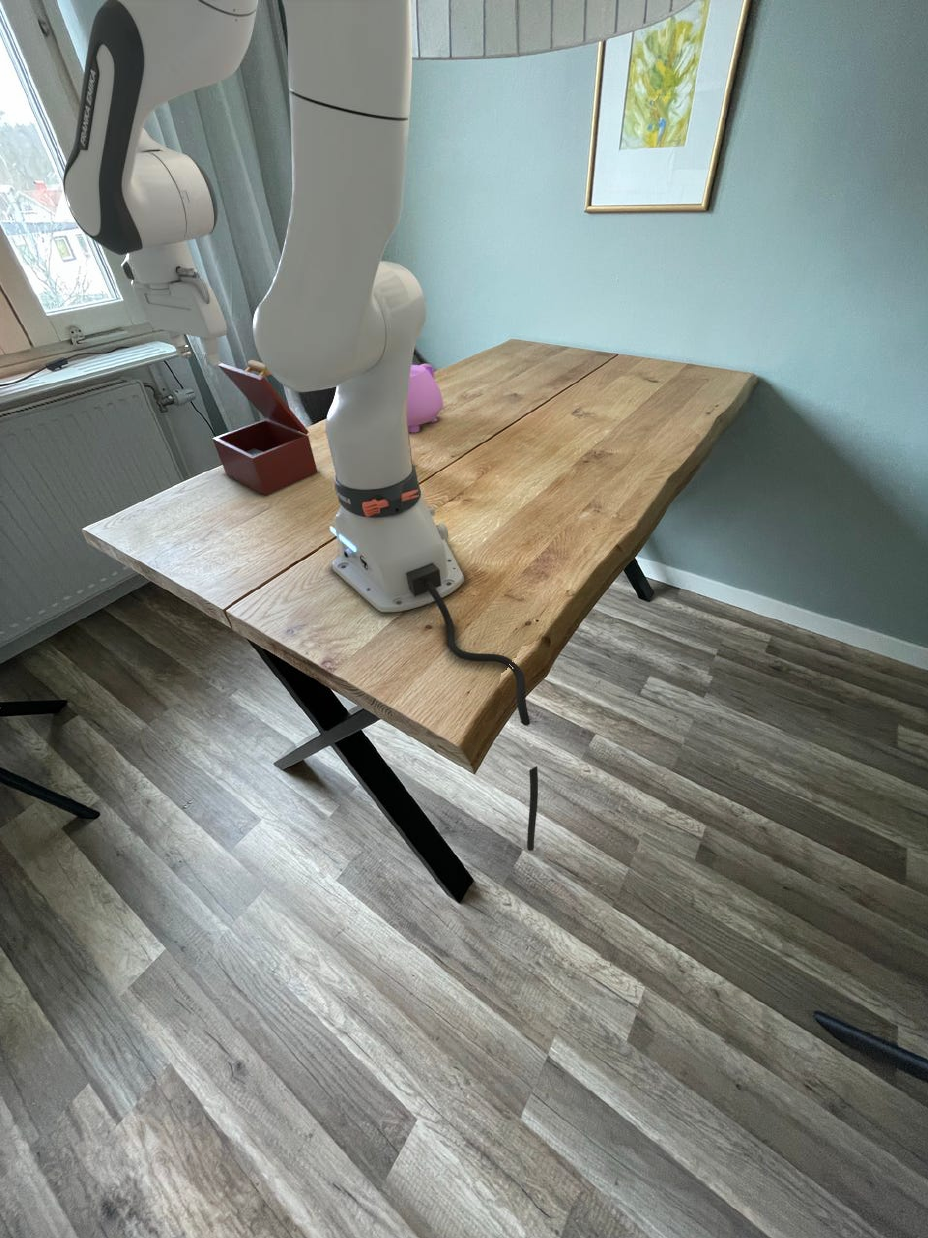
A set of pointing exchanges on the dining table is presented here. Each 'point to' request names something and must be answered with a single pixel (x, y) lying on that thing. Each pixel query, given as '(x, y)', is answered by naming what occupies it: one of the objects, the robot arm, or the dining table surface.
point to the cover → (263, 394)
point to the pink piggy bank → (422, 397)
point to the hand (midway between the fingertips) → (199, 360)
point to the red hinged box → (266, 456)
